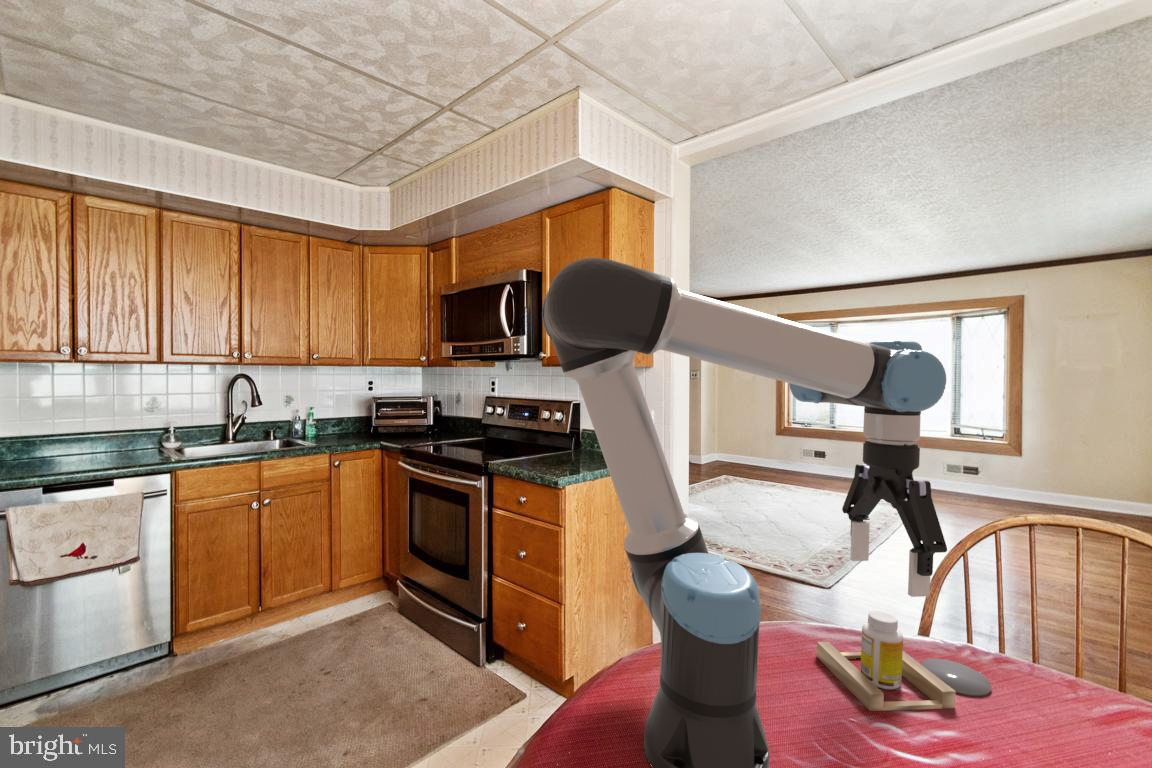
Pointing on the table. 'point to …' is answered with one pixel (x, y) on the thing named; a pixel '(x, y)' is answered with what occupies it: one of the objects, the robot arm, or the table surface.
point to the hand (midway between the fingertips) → (886, 576)
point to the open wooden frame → (872, 695)
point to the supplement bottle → (882, 650)
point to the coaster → (959, 677)
